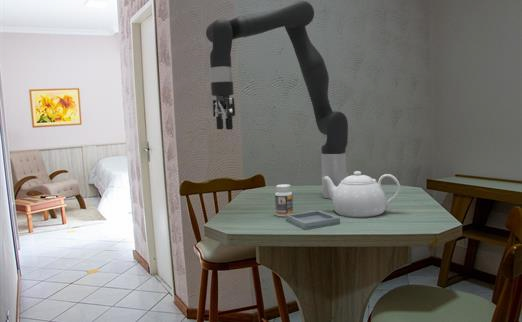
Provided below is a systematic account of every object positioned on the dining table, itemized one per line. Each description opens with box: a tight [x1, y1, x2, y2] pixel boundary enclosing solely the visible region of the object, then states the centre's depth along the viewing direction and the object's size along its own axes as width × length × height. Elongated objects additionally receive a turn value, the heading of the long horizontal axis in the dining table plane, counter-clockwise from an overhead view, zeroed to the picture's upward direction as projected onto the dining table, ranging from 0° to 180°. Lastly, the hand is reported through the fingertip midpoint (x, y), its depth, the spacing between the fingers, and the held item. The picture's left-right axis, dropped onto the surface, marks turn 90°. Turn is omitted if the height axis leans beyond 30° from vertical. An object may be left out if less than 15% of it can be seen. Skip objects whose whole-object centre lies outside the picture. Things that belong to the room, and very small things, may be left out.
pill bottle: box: [274, 183, 294, 218], centre depth 139 cm, size 6×6×10 cm
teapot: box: [320, 170, 401, 218], centre depth 139 cm, size 19×18×14 cm
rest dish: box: [285, 209, 341, 230], centre depth 129 cm, size 12×12×2 cm
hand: (224, 129), depth 145 cm, fingers open, 8 cm apart
